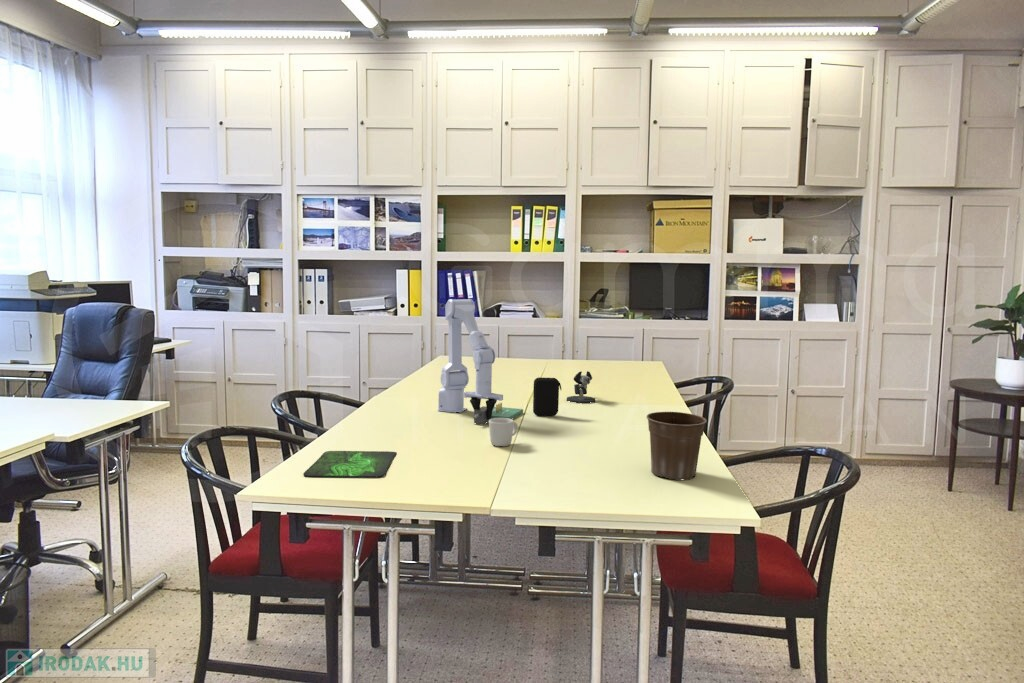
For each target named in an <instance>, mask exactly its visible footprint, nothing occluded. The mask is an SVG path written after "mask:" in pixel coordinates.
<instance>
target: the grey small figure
mask: <svg viewBox="0 0 1024 683" xmlns="http://www.w3.org/2000/svg"><path fill="white" fill-rule="evenodd" d="M582 373H583V371H578V373H576V374H575V376H574V377H573V381H574V382H575V384H574V389H573V390H574V394H575V395H571V396H567V397H566V402H568V401H570V402H569V403H571V402H576V403H575V404H580V403H582V404H591V403H590V402H594V403H596V397H592V396H588V395H587V394H588V391H587V389H588V385H589V384H590V383H591V381H592V379H593V376H592V374H591V372H590V371H589V370H587V371H586V374H584V375H583V374H582ZM586 395H587V396H586Z"/></svg>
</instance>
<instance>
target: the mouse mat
mask: <svg viewBox="0 0 1024 683" xmlns="http://www.w3.org/2000/svg"><path fill="white" fill-rule="evenodd" d="M396 455H397V452H395V451H389V450H388V451H387V450H386V451H378V450H377V451H373V450H372V451H371V450H370V451H367V450H365V451H364V450H328V451H327V450H326V451H325V452H322V454H321V455H320V457H319V458H318V459H317V460H316V461H315V462H314V463H312V465H310V466H309V468H307V469H306V470H305V471H304V472H303V476H304V477H306V478H359V479H360V478H364V479H365V478H368V479H369V478H382V477H384V476H385V475H386V474H387V472H388V470H389V469H390V466H391V464H392V463H393V461H394V459H395V458H396Z"/></svg>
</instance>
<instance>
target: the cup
mask: <svg viewBox="0 0 1024 683" xmlns="http://www.w3.org/2000/svg"><path fill="white" fill-rule="evenodd" d="M488 427H489V438H490V444H491V445H492V446H494V445H495V446H494V447H499V446H503V447H508V446H511V443H512V440H513V436H515V435H517V431H518V424H517V422H515V421H514V419H509V418H493V419H490V420H489V422H488Z"/></svg>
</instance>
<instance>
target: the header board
mask: <svg viewBox="0 0 1024 683" xmlns="http://www.w3.org/2000/svg"><path fill="white" fill-rule="evenodd" d="M521 413H522V414H523V413H524V409H523V408H515V407H513V408H512V407H503V402H499V403H497V404H495V406H494V408H493V410H492V419H493V418H509V419H512V418H514V417H515V418H517V417H518V415H519V414H520V415H522V414H521ZM520 415H519V416H520ZM516 416H517V417H516ZM515 418H514V419H515ZM512 420H513V419H512Z"/></svg>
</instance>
